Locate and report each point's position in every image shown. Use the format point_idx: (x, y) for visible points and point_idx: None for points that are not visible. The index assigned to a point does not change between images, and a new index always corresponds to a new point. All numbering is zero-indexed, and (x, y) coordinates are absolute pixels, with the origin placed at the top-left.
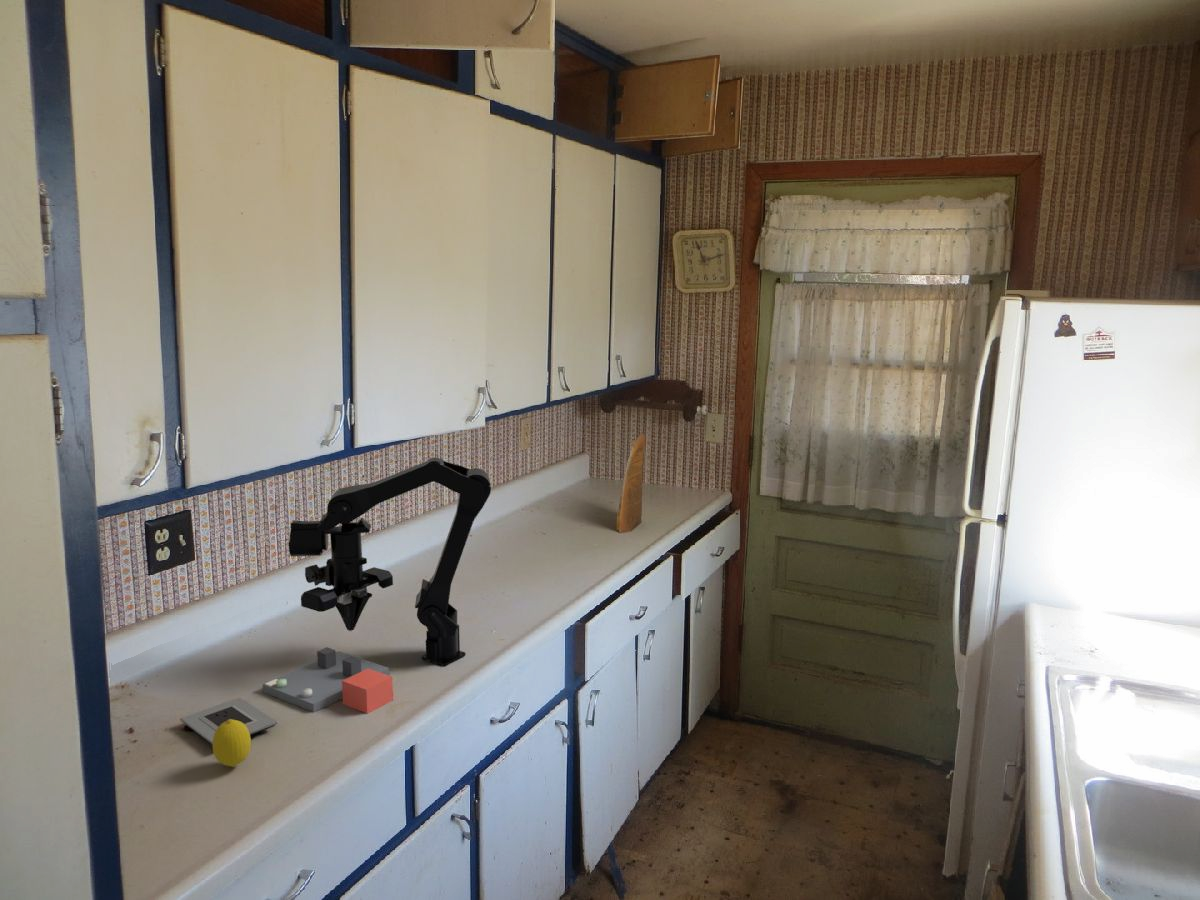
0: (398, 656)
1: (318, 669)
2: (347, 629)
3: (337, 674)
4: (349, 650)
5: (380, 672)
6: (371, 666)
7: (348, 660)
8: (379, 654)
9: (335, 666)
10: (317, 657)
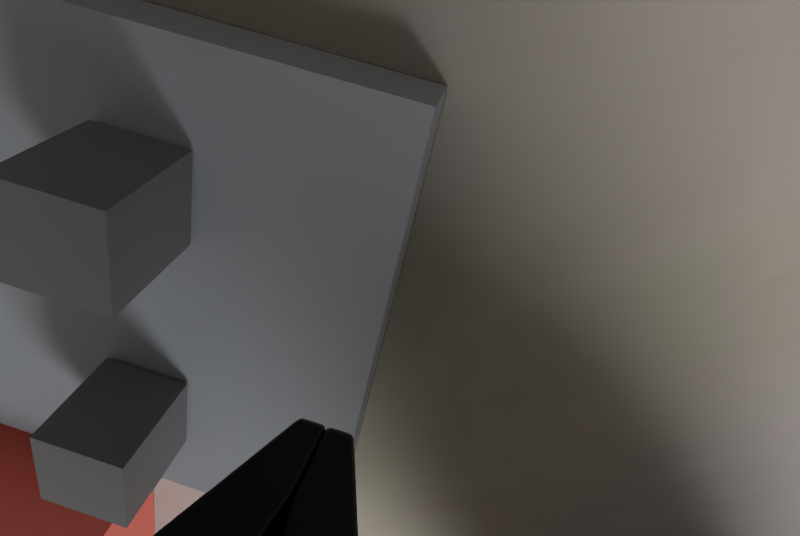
0: (615, 470)
1: None
2: (297, 424)
3: (96, 320)
4: (652, 75)
5: None
6: None
7: (55, 473)
8: (620, 354)
9: None
10: (30, 149)
